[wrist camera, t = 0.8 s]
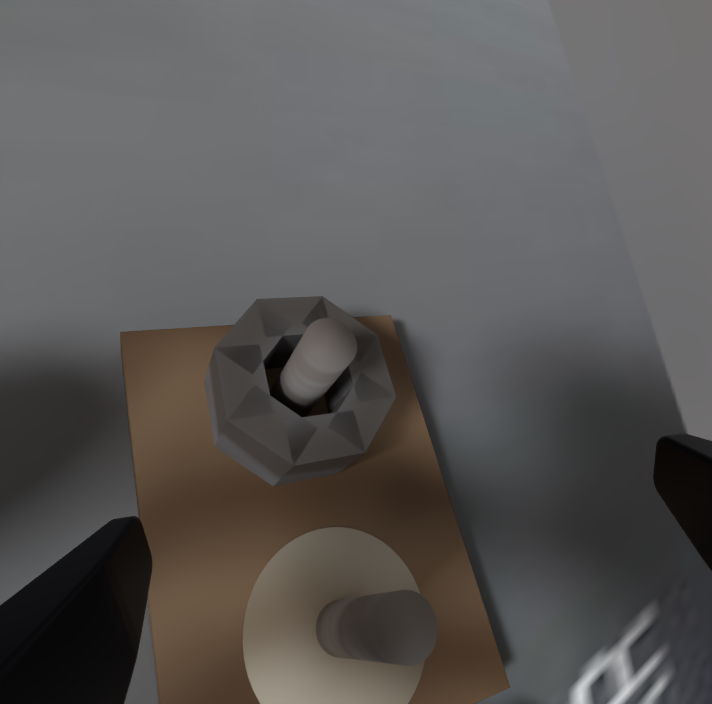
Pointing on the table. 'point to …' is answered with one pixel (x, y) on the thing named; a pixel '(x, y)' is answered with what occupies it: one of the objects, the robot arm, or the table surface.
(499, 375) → the table surface
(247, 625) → the gear board
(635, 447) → the table surface
